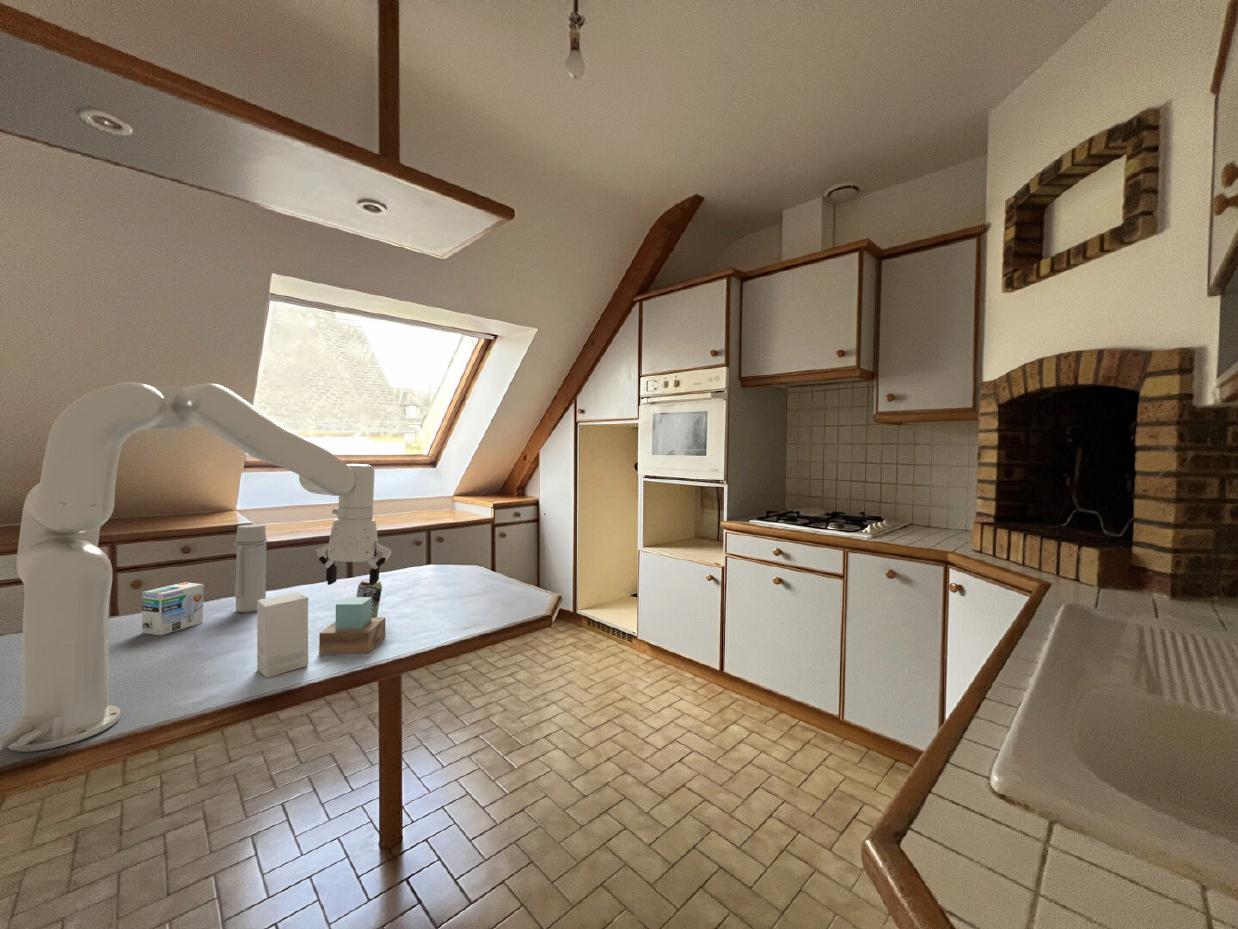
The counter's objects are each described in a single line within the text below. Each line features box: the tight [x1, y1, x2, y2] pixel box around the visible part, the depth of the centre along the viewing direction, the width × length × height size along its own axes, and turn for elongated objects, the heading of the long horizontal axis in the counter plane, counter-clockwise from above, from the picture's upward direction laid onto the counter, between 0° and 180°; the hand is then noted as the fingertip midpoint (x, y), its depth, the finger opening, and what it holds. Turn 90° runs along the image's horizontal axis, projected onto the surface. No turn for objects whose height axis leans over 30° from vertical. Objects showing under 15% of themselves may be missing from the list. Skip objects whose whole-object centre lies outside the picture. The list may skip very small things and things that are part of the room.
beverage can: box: [355, 579, 383, 617], centre depth 137 cm, size 6×7×12 cm
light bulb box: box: [141, 581, 205, 636], centre depth 129 cm, size 11×7×11 cm, turn 168°
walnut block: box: [318, 616, 386, 655], centre depth 121 cm, size 11×11×5 cm
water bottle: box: [233, 523, 268, 614], centre depth 144 cm, size 9×8×25 cm
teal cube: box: [334, 596, 372, 629], centre depth 121 cm, size 6×6×6 cm
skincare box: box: [256, 591, 309, 679], centre depth 107 cm, size 8×7×16 cm
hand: (352, 583), depth 121 cm, fingers open, 9 cm apart
